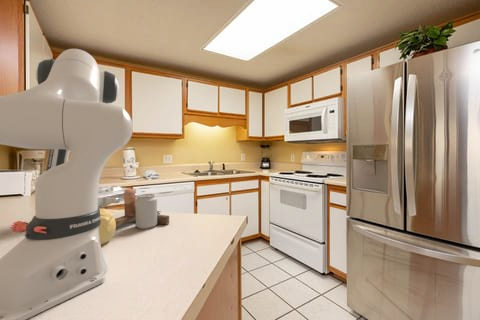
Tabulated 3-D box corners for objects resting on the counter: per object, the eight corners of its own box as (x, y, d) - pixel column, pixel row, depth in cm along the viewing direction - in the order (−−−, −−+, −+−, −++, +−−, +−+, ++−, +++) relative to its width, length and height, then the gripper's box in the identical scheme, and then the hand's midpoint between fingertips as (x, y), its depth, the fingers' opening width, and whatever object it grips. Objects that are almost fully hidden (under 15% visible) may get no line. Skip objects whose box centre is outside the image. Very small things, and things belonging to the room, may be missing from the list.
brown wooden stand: (144, 234, 77) (144, 195, 76) (106, 229, 82) (106, 193, 81) (169, 223, 89) (169, 190, 89) (134, 219, 95) (134, 187, 94)
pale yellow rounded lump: (63, 253, 63) (62, 214, 63) (80, 238, 74) (80, 204, 74) (110, 249, 66) (109, 211, 66) (119, 234, 77) (119, 202, 77)
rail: (108, 233, 79) (108, 230, 79) (103, 232, 79) (103, 229, 79) (160, 213, 105) (160, 211, 105) (156, 213, 106) (156, 210, 106)
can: (151, 230, 82) (151, 196, 82) (131, 229, 83) (131, 196, 83) (160, 223, 90) (160, 193, 90) (141, 223, 90) (141, 192, 90)
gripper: (75, 192, 84) (104, 194, 80) (120, 185, 104) (145, 186, 99) (75, 209, 84) (104, 212, 80) (120, 199, 104) (145, 201, 99)
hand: (127, 198), depth 90 cm, fingers open, 8 cm apart
